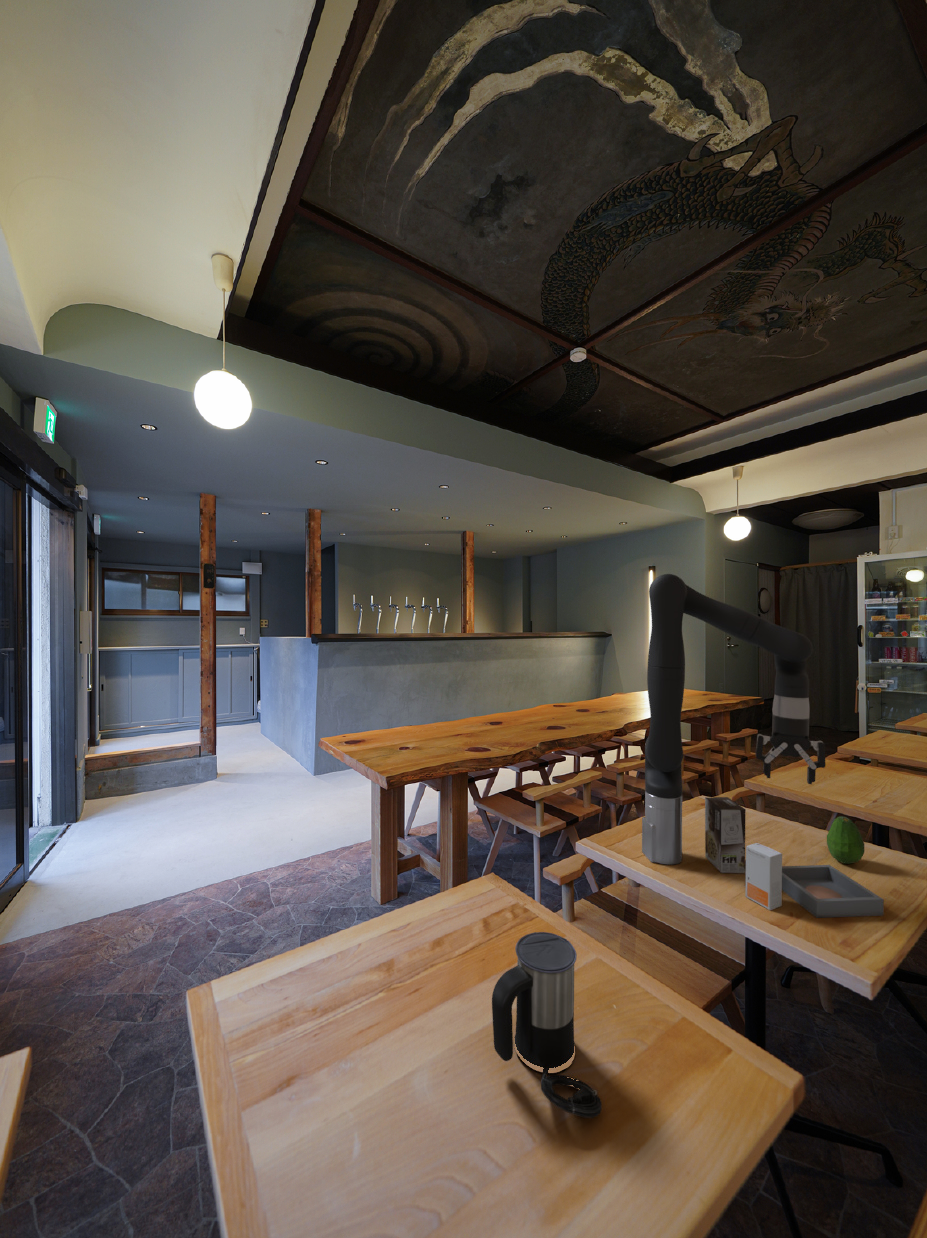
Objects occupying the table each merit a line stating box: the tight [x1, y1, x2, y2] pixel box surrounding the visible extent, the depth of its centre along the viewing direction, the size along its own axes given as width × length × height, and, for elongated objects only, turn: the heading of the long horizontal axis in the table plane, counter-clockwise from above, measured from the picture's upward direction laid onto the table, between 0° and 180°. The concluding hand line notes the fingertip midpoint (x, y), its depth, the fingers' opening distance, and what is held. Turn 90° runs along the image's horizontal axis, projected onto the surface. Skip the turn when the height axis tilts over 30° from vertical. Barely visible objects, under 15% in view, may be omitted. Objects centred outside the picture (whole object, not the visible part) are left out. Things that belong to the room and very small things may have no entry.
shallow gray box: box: [782, 864, 884, 919], centre depth 117 cm, size 15×15×4 cm
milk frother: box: [491, 931, 602, 1119], centre depth 72 cm, size 14×16×15 cm
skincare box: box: [744, 842, 783, 911], centre depth 115 cm, size 6×4×12 cm
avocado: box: [826, 816, 865, 865], centre depth 133 cm, size 8×8×12 cm
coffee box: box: [704, 796, 747, 874], centre depth 132 cm, size 9×6×16 cm
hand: (788, 780), depth 124 cm, fingers open, 8 cm apart
